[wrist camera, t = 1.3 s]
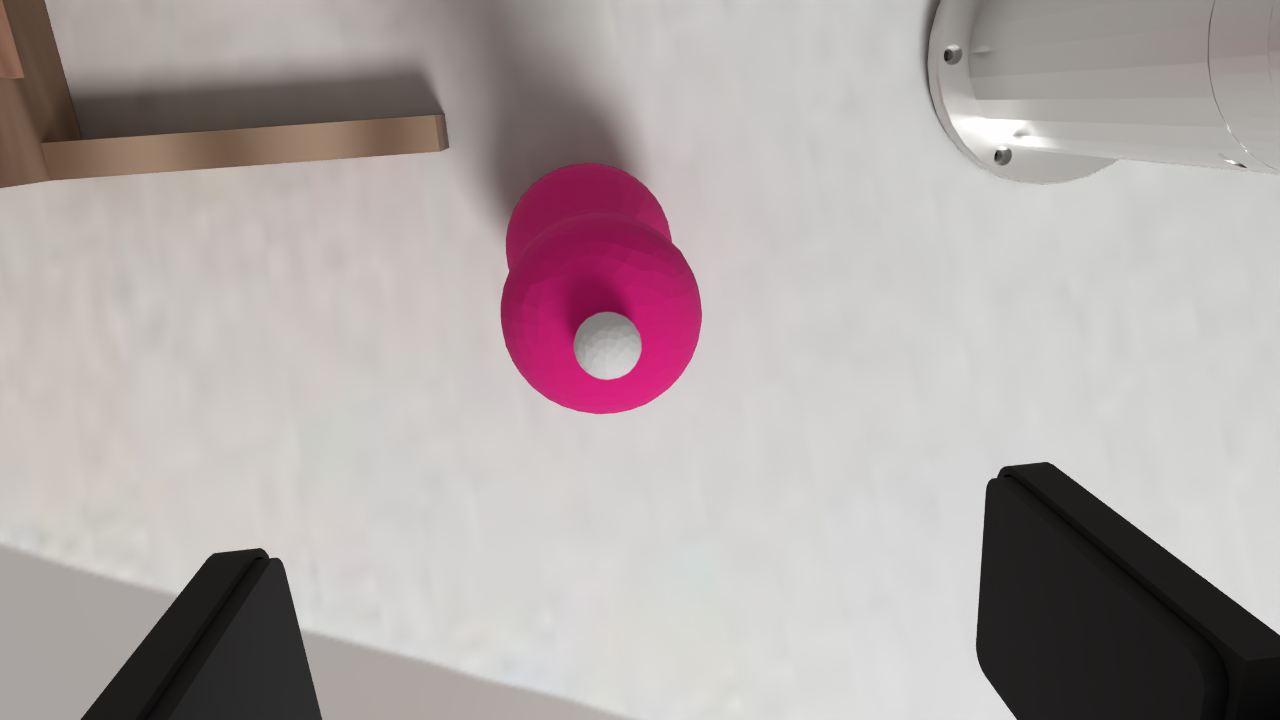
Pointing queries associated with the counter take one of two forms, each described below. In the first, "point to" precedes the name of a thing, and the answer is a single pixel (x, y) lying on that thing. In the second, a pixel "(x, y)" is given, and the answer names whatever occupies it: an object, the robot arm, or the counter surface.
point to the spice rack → (54, 150)
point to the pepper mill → (597, 292)
